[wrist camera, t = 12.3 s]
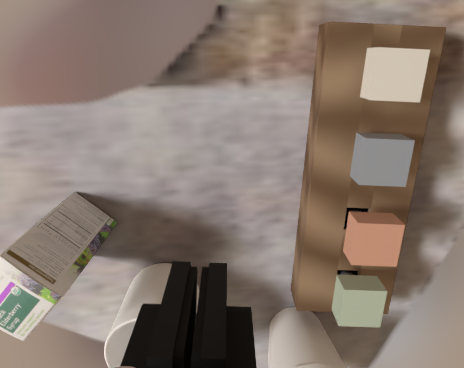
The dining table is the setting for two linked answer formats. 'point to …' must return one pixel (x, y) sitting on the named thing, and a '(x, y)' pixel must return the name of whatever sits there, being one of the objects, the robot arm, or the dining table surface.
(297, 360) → the foam cup
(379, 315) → the sage key
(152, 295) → the mug
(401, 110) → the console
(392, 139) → the slate-grey key
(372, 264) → the terracotta key
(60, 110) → the dining table surface
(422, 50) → the cream rectangular block
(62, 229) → the syrup box
